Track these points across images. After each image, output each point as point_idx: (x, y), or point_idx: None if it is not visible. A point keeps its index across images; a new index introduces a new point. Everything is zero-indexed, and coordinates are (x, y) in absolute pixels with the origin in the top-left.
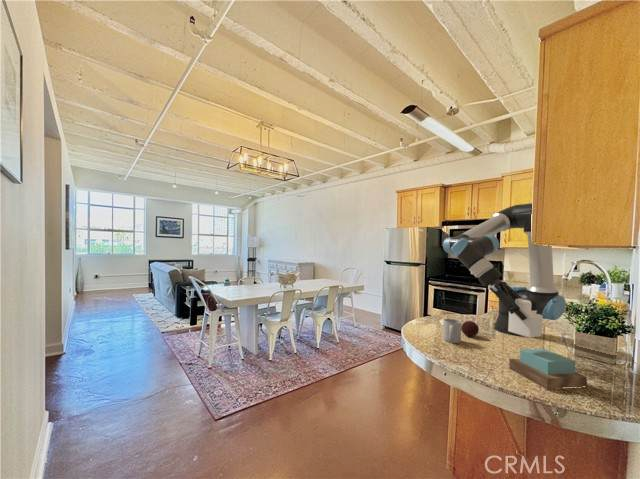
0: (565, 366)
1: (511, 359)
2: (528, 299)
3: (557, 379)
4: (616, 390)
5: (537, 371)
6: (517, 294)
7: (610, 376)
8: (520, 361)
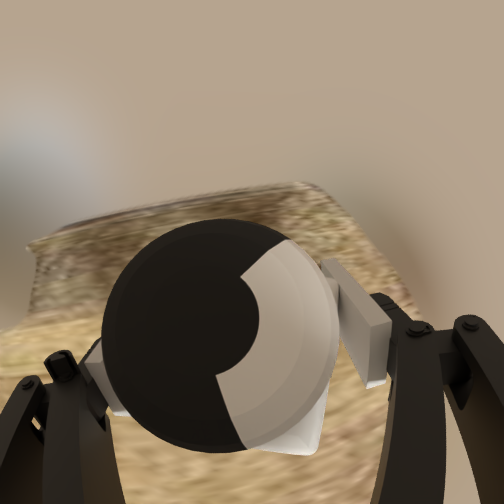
0: None
1: None
2: (191, 289)
3: None
4: (184, 217)
5: None
6: (6, 448)
7: (106, 241)
8: None
